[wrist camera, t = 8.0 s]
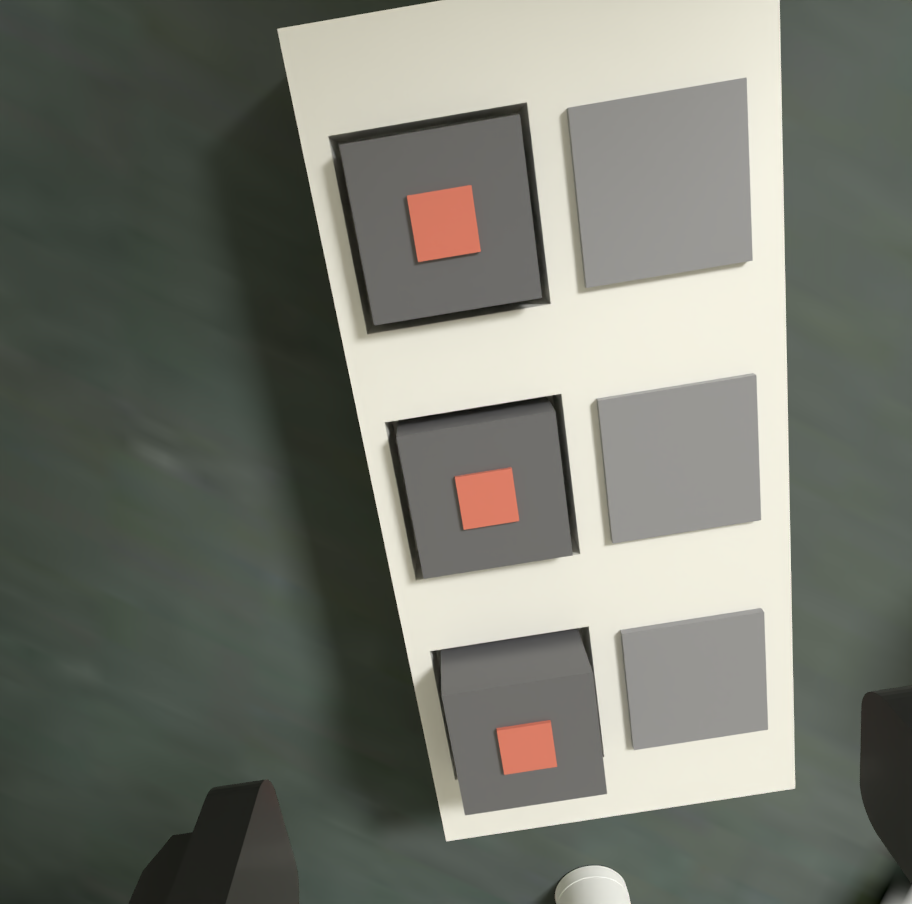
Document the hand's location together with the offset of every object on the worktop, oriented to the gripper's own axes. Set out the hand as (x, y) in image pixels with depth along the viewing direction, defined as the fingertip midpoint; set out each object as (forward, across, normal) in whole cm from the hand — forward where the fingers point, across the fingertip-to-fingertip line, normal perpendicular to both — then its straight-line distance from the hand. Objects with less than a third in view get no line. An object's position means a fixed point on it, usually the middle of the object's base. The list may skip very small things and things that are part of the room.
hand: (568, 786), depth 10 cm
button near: (+14, 0, -7) cm, 16 cm away
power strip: (+16, -2, 0) cm, 16 cm away
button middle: (+14, 0, 0) cm, 14 cm away
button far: (+12, 0, +8) cm, 15 cm away
